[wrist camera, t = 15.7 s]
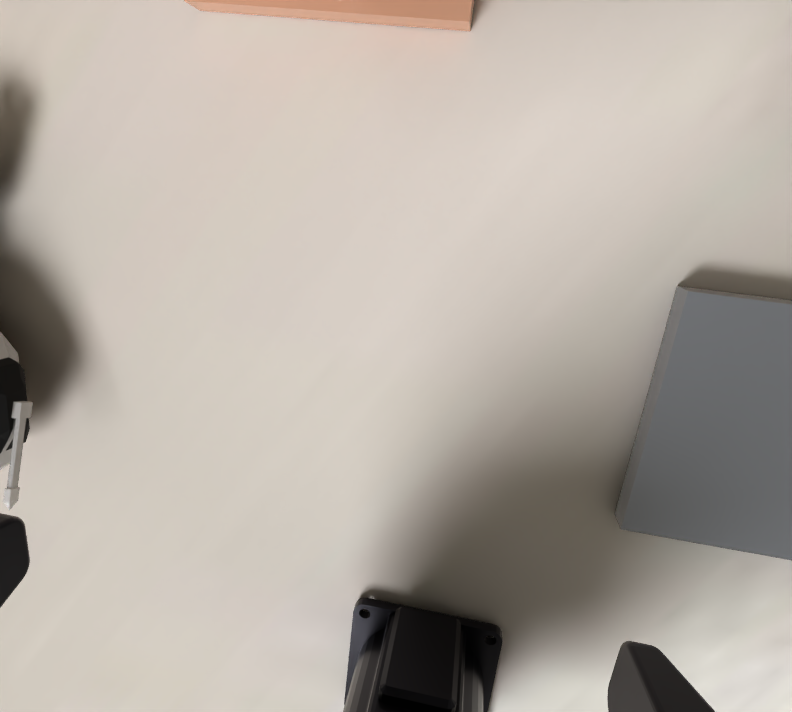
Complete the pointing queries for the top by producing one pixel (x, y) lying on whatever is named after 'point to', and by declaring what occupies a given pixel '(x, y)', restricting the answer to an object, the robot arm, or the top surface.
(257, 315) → the top surface
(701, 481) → the slate tile
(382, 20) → the terracotta tile
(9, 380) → the robot toy
